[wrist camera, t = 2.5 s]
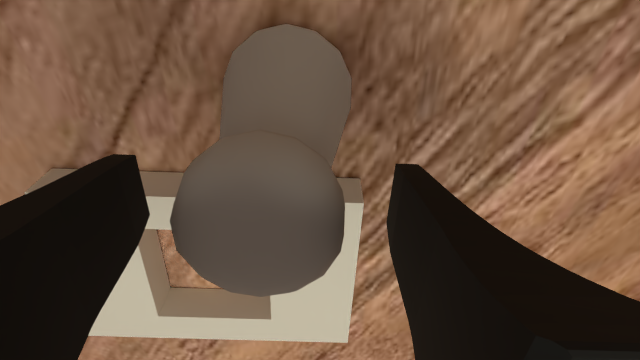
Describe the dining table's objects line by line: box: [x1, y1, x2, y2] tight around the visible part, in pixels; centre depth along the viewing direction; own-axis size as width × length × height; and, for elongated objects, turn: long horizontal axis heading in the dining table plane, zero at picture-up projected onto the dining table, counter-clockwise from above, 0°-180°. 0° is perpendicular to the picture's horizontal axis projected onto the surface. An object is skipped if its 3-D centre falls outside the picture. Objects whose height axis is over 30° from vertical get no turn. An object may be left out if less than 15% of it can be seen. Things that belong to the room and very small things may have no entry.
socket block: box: [24, 168, 364, 343], centre depth 25 cm, size 18×12×2 cm, turn 88°
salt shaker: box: [170, 24, 352, 297], centre depth 14 cm, size 6×6×13 cm
